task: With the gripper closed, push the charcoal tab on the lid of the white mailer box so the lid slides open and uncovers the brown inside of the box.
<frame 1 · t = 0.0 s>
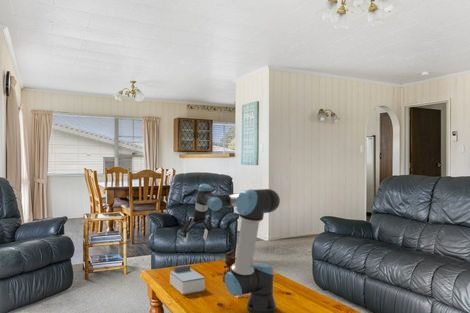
hand: (195, 240, 221), 28 cm above the table, tool tilted 20°, fingers open, 13 cm apart
music box: (231, 280, 233), on the table
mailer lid: (187, 272, 219), point 9 cm above the table, slide at 0.0 cm
mailer box: (186, 287, 219), on the table
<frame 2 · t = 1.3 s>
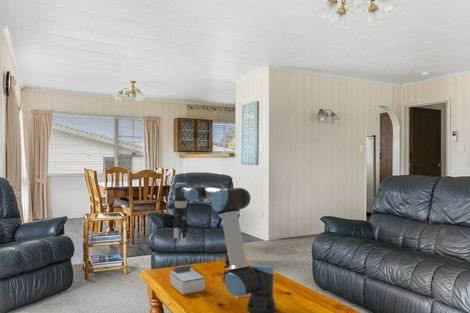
hand: (179, 240, 230), 26 cm above the table, tool pointing down, fingers open, 13 cm apart
nothing on the table moved.
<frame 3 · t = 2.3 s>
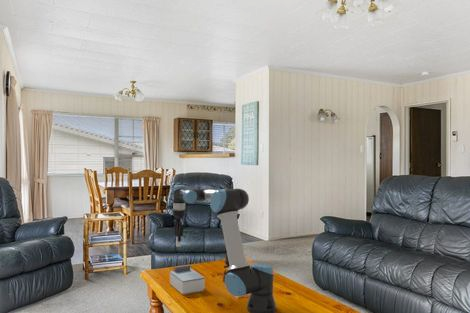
hand: (178, 246, 231), 22 cm above the table, tool pointing down, fingers closed
nothing on the table moved.
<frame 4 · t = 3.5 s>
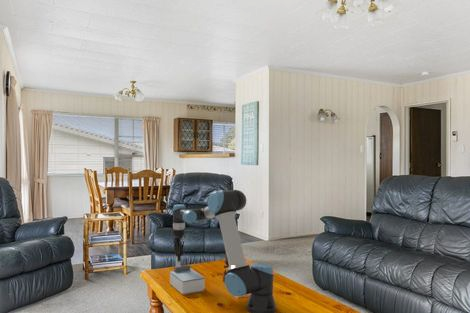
hand: (178, 265, 231), 9 cm above the table, tool pointing down, fingers closed
nothing on the table moved.
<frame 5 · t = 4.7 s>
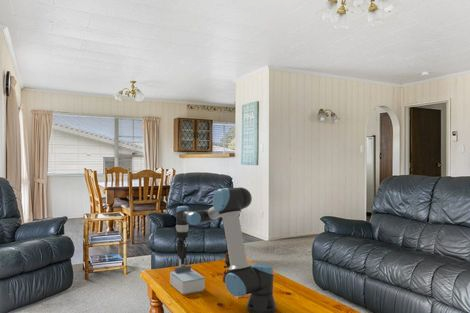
hand: (181, 268, 226), 9 cm above the table, tool pointing down, fingers closed
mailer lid: (187, 272, 218), point 9 cm above the table, slide at 0.8 cm, touching gripper
everything else where it was.
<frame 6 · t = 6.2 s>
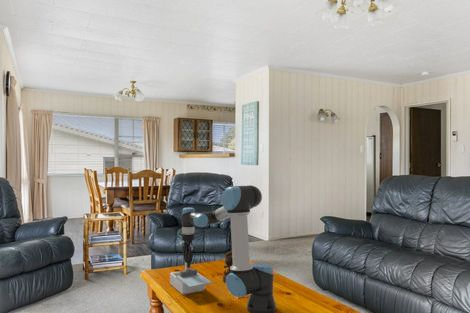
hand: (187, 272, 218), 9 cm above the table, tool pointing down, fingers closed
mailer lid: (193, 277, 210), point 9 cm above the table, slide at 9.9 cm, touching gripper
everything else where it was.
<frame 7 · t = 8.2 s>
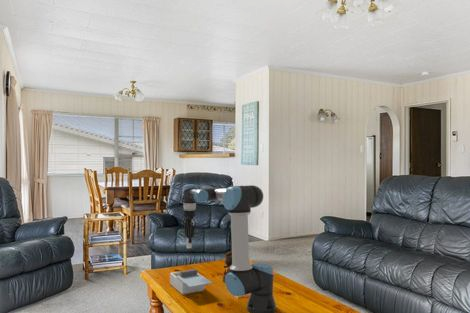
hand: (189, 248, 222), 23 cm above the table, tool pointing down, fingers closed
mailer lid: (194, 277, 210), point 9 cm above the table, slide at 10.2 cm
everything else where it was.
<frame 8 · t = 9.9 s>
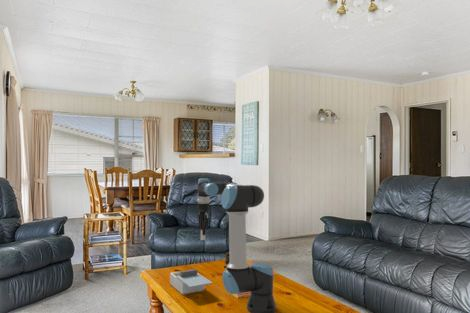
hand: (203, 239, 230), 26 cm above the table, tool pointing down, fingers closed
nothing on the table moved.
at the end: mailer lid slide at 10.2 cm; music box moved 0.2 cm from its start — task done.
